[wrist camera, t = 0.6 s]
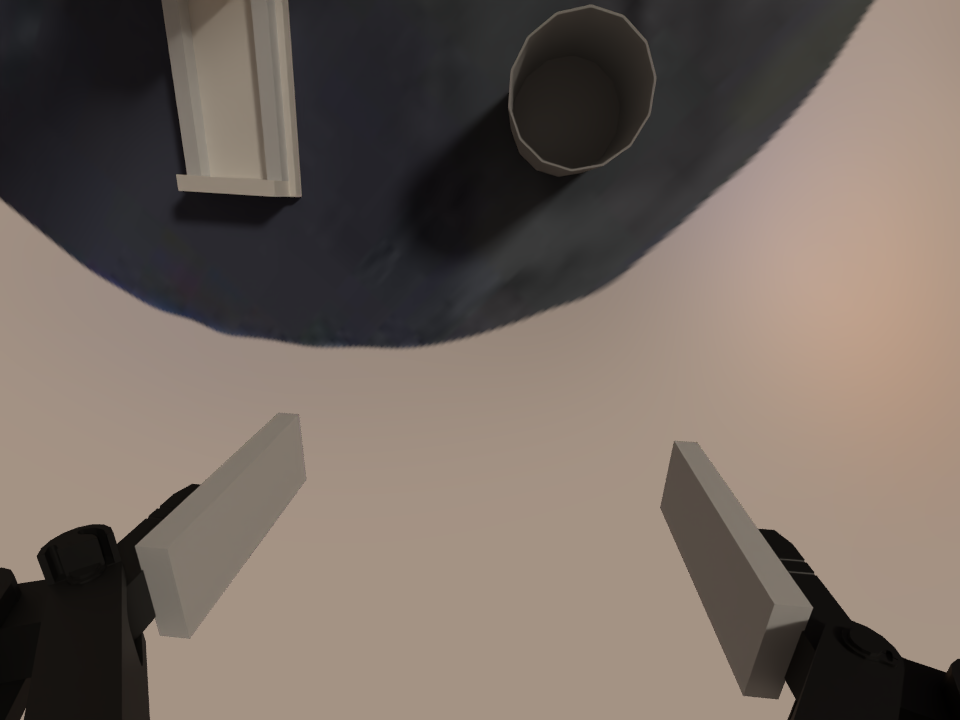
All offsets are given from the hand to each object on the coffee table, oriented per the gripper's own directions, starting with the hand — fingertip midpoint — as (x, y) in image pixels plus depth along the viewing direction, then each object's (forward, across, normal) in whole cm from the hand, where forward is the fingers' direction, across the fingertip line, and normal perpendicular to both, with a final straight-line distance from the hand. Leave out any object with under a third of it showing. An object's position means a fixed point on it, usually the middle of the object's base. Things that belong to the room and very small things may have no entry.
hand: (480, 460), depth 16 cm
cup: (+27, +4, +14) cm, 31 cm away
